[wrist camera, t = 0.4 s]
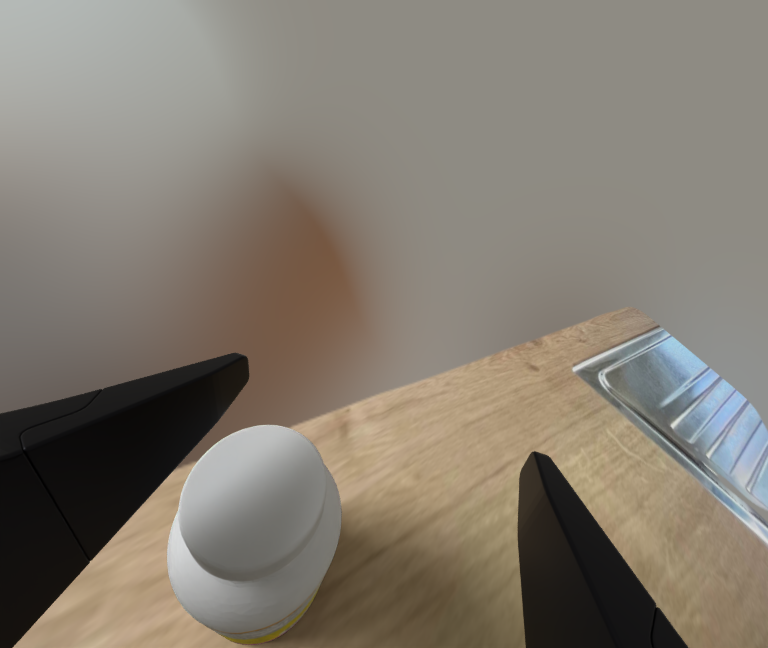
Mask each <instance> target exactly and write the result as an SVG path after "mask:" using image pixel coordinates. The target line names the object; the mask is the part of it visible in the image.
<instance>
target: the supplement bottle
mask: <svg viewBox="0 0 768 648" xmlns="http://www.w3.org/2000/svg"><path fill="white" fill-rule="evenodd" d="M341 517H342V511H341V501H340V496H339V492H338V489H337V485H336V483H335V481H334V479H333V477H332V475H331V473H330V472H329V470H328V468H327V467H326V466H325V465H324V463H323V460H322V458H321V455H320V453H319V452H318V450H317V449H316V447H315V446H314V445H313V443H312V442H311V441H310V440H308V439H307V438H306V437H305V436H303V435H302V434H301V433H299V432H297V431H295V430H292V429H290V428H286V427H283V426H277V425H260V426H254V427H250V428H246V429H243V430H240V431H237V432H235V433H233V434H231V435H229V436H227V437H226V438H224V439H222V440H221V441H219V442H218V443H216V444H215V445H214V446H213V447H211V448H210V449H209V450H208V451H207V452H206V453H205V454H204V455H203V456H202V457H201V459H200V460H199V461H198V462H197V463H196V465H195V466H194V468H193V469H192V471H191V472H190V474H189V476H188V478H187V480H186V482H185V484H184V487H183V490H182V493H181V497H180V502H179V510H178V512H177V514H176V516H175V519H174V522H173V525H172V528H171V532H170V536H169V541H168V550H167V566H168V573H169V578H170V582H171V585H172V588H173V591H174V593H175V595H176V597H177V599H178V600H179V602H180V603H181V605H182V606H183V607H184V609H185V610H186V611H187V612H188V613H189V614H190V615H191V616H192V617H193V618H195V619H196V620H197V621H199V622H200V623H202V624H203V625H205V626H206V627H208V628H210V629H212V630H213V631H215V632H216V633H218V634H220V635H221V636H223V637H225V638H226V639H228V640H230V641H232V642H235V643H238V644H243V645H256V644H262V643H266V642H269V641H271V640H274V639H276V638H278V637H279V636H281V635H282V634H284V633H285V632H287V631H288V630H289V629H291V628H292V627H293V626H294V625H295V624H296V623H297V622H298V621H299V620H300V619H301V617H302V616H303V615H304V614H305V612H306V611H307V610H308V608H309V607H310V605H311V603H312V601H313V600H314V598H315V596H316V594H317V591H318V589H319V587H320V585H321V583H322V581H323V578H324V576H325V574H326V572H327V570H328V568H329V566H330V564H331V561H332V559H333V557H334V554H335V551H336V548H337V545H338V540H339V536H340V530H341Z"/></svg>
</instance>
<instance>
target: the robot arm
mask: <svg viewBox="0 0 768 648" xmlns="http://www.w3.org/2000/svg"><path fill="white" fill-rule="evenodd" d="M248 379H249V365H248V358H247V357H246V356H245V355H242V354H239V353H231V354H228V355H224V356H221V357H217V358H213V359H210V360H206V361H202V362H198V363H195V364H191V365H187V366H184V367H180V368H176V369H173V370H169V371H166V372H162V373H158V374H155V375H151V376H147V377H144V378H140V379H136V380H132V381H129V382H125V383H122V384H118V385H115V386H111V387H107V388H104V389H103V390H102V389H99V390H95V391H92V392H88V393H85V394H81V395H77V396H73V397H69V398H66V399H62V400H57V401H53V402H49V403H45V404H40V405H36V406H32V407H27V408H23V409H19V410H14V411H10V412H6V413H1V414H0V648H13V647H14V645H15V644H16V643H17V642H18V641H19V640H20V639H21V638H22V637H23V636H24V634H25V633H26V632H27V631H28V630H29V629H30V628H31V627H32V626H33V625H34V623H35V622H36V621H37V620H38V619H39V618H40V617H41V616H42V615H43V614H44V612H45V611H46V610H47V609H48V608H49V607H50V606H51V605H52V604H53V603H54V601H55V600H56V599H57V598H58V597H59V596H60V595H61V594H62V593H63V592H64V591H65V589H66V588H67V587H68V586H69V585H70V584H71V583H72V582H73V581H74V580H75V578H76V577H77V576H78V575H79V574H80V573H81V572H82V571H83V570H84V569H85V567H86V566H87V565H88V564H89V563H90V561H91V560H92V559H93V558H94V557H95V556H96V555H97V554H98V553H99V552H100V551H101V550H102V548H103V547H104V546H105V545H106V544H107V543H108V542H109V541H110V540H111V539H112V537H113V536H114V535H115V534H116V533H117V532H118V531H119V530H120V529H121V528H122V526H123V525H124V524H125V523H126V522H127V521H128V520H129V519H130V518H131V517H132V515H133V514H134V513H135V512H136V511H137V510H138V509H139V508H140V507H141V506H142V504H143V503H144V502H145V501H146V500H147V499H148V498H149V497H150V496H151V495H152V493H153V492H154V491H155V490H156V489H157V488H158V487H159V486H160V485H161V484H162V482H163V481H164V480H165V479H166V478H167V477H168V476H169V475H170V474H171V473H172V472H173V470H174V469H175V468H176V467H177V466H178V465H179V464H180V463H181V462H182V461H183V459H184V458H185V457H186V456H187V455H188V454H189V453H190V452H191V451H192V449H193V448H194V447H195V446H196V445H197V444H198V443H199V442H200V441H201V440H202V438H203V437H204V436H205V435H206V434H207V433H208V432H209V431H210V429H212V428H213V426H214V425H215V424H216V423H217V422H218V421H219V419H220V418H221V417H222V416H223V414H224V413H225V412H226V410H227V409H228V408H229V406H230V405H231V404H232V402H233V401H234V400H235V398H236V397H237V396H238V394H239V393H240V392H241V390H242V389H243V387H244V386H245V385H246V383H247V382H248ZM518 550H519V563H520V576H521V589H522V603H523V616H524V629H525V642H526V648H688V646H687V645H686V644H685V642H684V641H683V640H682V638H681V637H680V636H679V634H678V633H677V632H676V630H675V629H674V627H673V626H672V625H671V623H670V622H669V621H668V619H667V618H666V616H665V615H664V614H663V612H662V611H661V610H660V608H658V607H656V603H655V601H654V600H653V599H652V597H651V596H650V595H649V593H648V592H647V590H646V589H645V588H644V586H643V585H642V583H641V582H640V581H639V579H638V578H637V577H636V575H635V574H634V572H633V571H632V570H631V568H630V567H629V566H628V564H627V563H626V561H625V560H624V559H623V557H622V556H621V554H620V553H619V552H618V550H617V549H616V548H615V546H614V545H613V543H612V542H611V541H610V539H609V538H608V537H607V535H606V534H605V532H604V531H603V530H602V528H601V527H600V526H599V524H598V523H597V521H596V520H595V519H594V517H593V516H592V514H591V513H590V512H589V510H588V509H587V508H586V506H585V505H584V503H583V502H582V501H581V499H580V498H579V497H578V495H577V494H576V492H575V491H574V490H573V488H572V487H571V485H570V484H569V483H568V481H567V480H566V479H565V477H564V476H563V474H562V473H561V472H560V470H559V469H558V468H557V466H556V465H555V463H554V462H553V461H552V459H551V458H550V457H549V456H547V455H545V454H542V453H539V452H535V451H534V452H532V453H531V454H530V455H529V457H528V459H527V461H526V462H525V464H524V466H523V468H522V470H521V472H520V478H519V504H518Z"/></svg>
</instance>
